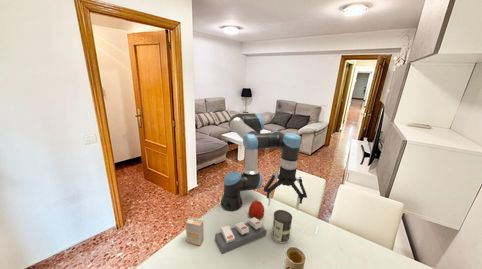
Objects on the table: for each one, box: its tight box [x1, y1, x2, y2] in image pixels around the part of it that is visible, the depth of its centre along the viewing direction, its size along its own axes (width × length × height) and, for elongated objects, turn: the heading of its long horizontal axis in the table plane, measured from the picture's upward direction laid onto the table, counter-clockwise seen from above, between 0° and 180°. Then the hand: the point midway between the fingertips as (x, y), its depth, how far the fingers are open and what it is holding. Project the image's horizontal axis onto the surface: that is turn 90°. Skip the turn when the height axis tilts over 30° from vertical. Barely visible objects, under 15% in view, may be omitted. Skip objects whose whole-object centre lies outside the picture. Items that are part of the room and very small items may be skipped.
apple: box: [248, 200, 265, 220], centre depth 126 cm, size 10×10×10 cm
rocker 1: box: [220, 224, 235, 243], centre depth 102 cm, size 8×4×2 cm, turn 29°
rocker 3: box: [247, 217, 263, 229], centre depth 112 cm, size 8×4×3 cm, turn 29°
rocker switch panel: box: [214, 221, 268, 255], centre depth 108 cm, size 10×28×5 cm, turn 119°
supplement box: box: [185, 216, 205, 247], centre depth 103 cm, size 8×5×13 cm, turn 74°
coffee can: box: [271, 209, 293, 244], centre depth 109 cm, size 10×10×14 cm
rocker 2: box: [234, 221, 249, 234], centre depth 107 cm, size 8×4×2 cm, turn 29°
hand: (283, 206), depth 94 cm, fingers open, 13 cm apart
